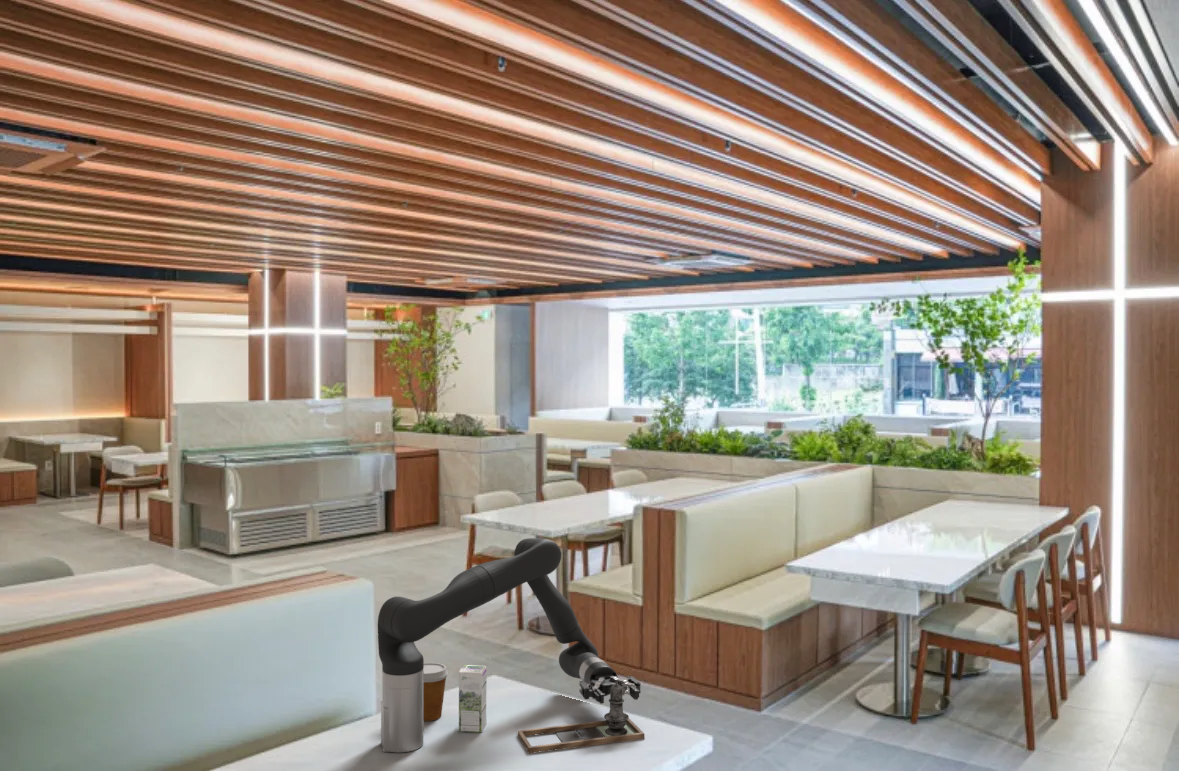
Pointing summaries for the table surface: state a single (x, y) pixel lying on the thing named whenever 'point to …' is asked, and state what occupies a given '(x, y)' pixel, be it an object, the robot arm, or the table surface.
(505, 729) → the table surface
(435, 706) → the disposable coffee cup
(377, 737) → the table surface
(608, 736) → the tray
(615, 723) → the salt shaker
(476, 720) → the syrup box
